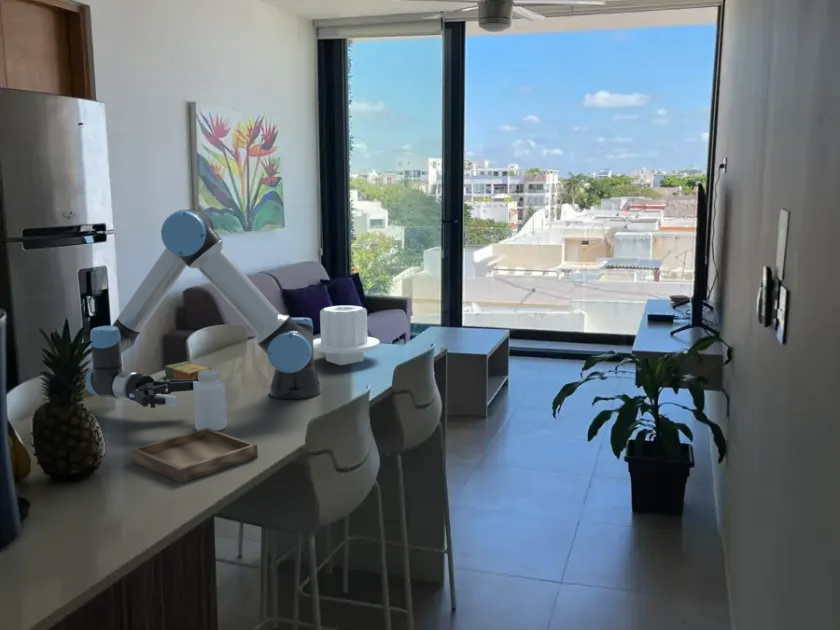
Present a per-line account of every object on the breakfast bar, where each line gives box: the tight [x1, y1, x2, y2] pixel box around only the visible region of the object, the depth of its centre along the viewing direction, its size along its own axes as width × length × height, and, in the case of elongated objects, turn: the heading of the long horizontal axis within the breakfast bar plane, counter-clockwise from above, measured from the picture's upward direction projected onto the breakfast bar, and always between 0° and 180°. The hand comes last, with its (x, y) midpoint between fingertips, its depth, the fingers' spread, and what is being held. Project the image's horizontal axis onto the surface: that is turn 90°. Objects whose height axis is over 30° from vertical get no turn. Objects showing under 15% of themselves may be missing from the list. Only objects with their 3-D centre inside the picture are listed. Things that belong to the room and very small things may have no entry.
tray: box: [130, 428, 259, 484], centre depth 174 cm, size 20×20×3 cm
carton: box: [164, 361, 213, 379], centre depth 249 cm, size 8×16×4 cm, turn 46°
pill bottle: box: [192, 369, 228, 432], centre depth 196 cm, size 8×8×15 cm
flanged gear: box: [313, 305, 381, 366], centre depth 270 cm, size 25×25×19 cm
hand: (195, 395), depth 197 cm, fingers open, 13 cm apart
